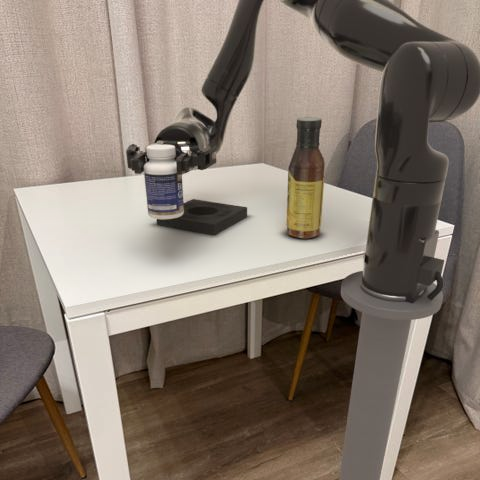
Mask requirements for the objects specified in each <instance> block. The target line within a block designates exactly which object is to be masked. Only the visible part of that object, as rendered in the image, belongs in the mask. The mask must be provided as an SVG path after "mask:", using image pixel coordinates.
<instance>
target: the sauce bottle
mask: <svg viewBox="0 0 480 480" xmlns="http://www.w3.org/2000/svg"><path fill="white" fill-rule="evenodd" d="M322 121H323V119H322V118H321V117H317V116H302V117H301V116H300V117H298V118H296V123H295V124H296V126H295V127H296V130H297V131H296V143H295V149H294V151H293V154H292V156H291V160H290V162H289V165H288V169H287V194H286V195H287V196H286V197H287V198H286V221H285V222H286V232H287V234H288V236H291V237H293V238H297V239H302V240H303V239H305V240H308V239H312V238H316V237H318V236H319V235H320V233H321V232H320V230H321V226H322V218H323V217H322V216H323V202H324V187H325V165H326V162H325V158H324V156H323V153H322V152H321V149H320V148H319V146H320V134H321V128H322Z"/></svg>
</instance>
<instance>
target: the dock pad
mask: <svg viewBox="0 0 480 480" xmlns="http://www.w3.org/2000/svg"><path fill="white" fill-rule="evenodd" d="M245 218H248V206H243V205H242V206H241V205H235V204H228V203H222V202H215V201H209V200H201V199H195V198H192V199H189V200H187V201H185V202H184V213H183V215H182V216H180V217H177V218H173V219H156V225H157V226H163V227H169V228H173V229H174V228H175V229H178V230H184V231H190V232H195V233H200V234H201V233H202V234H208V235H213V236H216V235H217V234H219V233H220V232H223V231H224V230H226V229H228V228H229V227H231V226H234V225H235V224H237V223H239V222H241V221H242V220H244V219H245Z"/></svg>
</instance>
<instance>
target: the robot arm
mask: <svg viewBox="0 0 480 480" xmlns="http://www.w3.org/2000/svg"><path fill="white" fill-rule="evenodd" d="M277 1H278V2H279V3H280V4H282V5H283V6H284V7H286V8H288V9H290V10H292V11H294V12H296V13H298V14H299V15H301V16H303V17H304V18H306V19H308V21H310V22H311V24H312V28H313V29H314V31H315V33H316V34H317V35H318V36H319V37H320V38H321V40H322V41H323V42H324V43H326V45H328V47H330V48H331V49H332V50H333V51H334V52H335V53H337V54H338V55H340V56H341V57H342V58H344V59H346V60H348V61H350V62H353V63H355V64H357V65H360V66H362V67H366V68H368V69H371V70H375V71H377V72H381V78H380V82H379V89H378V98H377V112H376V124H375V125H376V126H375V138H374V152H375V159H376V168H375V169H376V170H375V177H374V184H373V185H374V186H373V192H372V200H371V207H370V215H369V221H368V229H367V237H366V244H365V249H364V250H363V255H362V257H363V258H362V259H363V260H362V261H363V266H362V270H361V271H362V279H361V283H360V287H361V289H362V290H363V291H364V292H365V293H367V294H368V295H370V296H373V297H375V298H378V299H382V300H387V301H397V302H409V303H414V302H415V301H416V300H417V299H418V298H420V297H421V296H422V295H423V294H424V293H425V292H426V291H427V289H428V286H430V285H431V284H432V283H434V282H436V285H437V286H436V288H435V289H434V290H433V291H432V292H431V293H430V294H429V295H428V296H427V298H428V299H430V300H432V299H433V298H434V297H436V296H437V295H438V294H439V293H440V292H441V291H443V288H444V280H443V277H442V273H443V270H444V269H443V268H444V263H445V259H442V258H439V257H435V256H436V255H435V254H436V250H437V245H438V242H439V241H438V240H439V237H440V231H439V230H438V229H436V228H437V224H438V219H439V214H440V210H441V209H440V208H441V203H442V199H443V195H444V189H445V186H446V180H447V177H448V170H449V165H450V159H449V157H448V156H447V155H446V154H445V153H443V152H441V151H438V150H436V149H434V148H432V146H431V145H430V143H429V139H428V138H429V124H430V123H442V122H445V121H451V120H454V119H456V118H459V117H461V116H463V115H464V114H466V113H467V112H468V111H470V110H471V109H472V108H473V107H474V106H475V104H476V103H477V101H478V100H479V98H480V59H479V58H478V56H477V55H476V53H475V52H474V51H473V50H472V49H471V47H469V46H468V45H467V44H465V43H463V42H461V41H459V40H456V39H454V38H451V37H449V36H447V35H444V34H443V33H440V32H438V31H436V30H434V29H432V28H429V27H428V26H426V25H424V24H423V23H421V22H419V21H418V20H416V19H415V18H414V17H412V16H411V15H410V14H408V13H407V12H406V11H405V10H403V9H402V8H400V7H399V6H397V5H396V4H395V3H394V2H393V1H391V0H277ZM264 2H265V0H238V1H237V5H236V7H235V10H234V13H233V16H232V19H231V22H230V24H229V28H228V30H227V33H226V35H225V38H224V40H223V43H222V45H221V46H220V49H219V51H218V53H217V56H216V57H215V59H214V60H213V64H212V65H211V67H210V68H209V71H208V73H207V75H206V77H205V78H204V81H203V83H202V85H201V87H200V94H201V96H202V97H203V98H204V99H205V100H206V101H207V102H208V103H209V104H210V105H211V106H212V108H214V110H215V115H216V116H215V119H213V118H212V117H210V116H208V115H207V114H205V113H204V112H202V111H201V110H200V109H198V108H196V107H194V106H191V105H186V106H183V107H181V109H180V110H178V112H177V113H176V114H175V116H174V118H173V121H172V123H171V124H170V125H167V126H166V127H164V128H163V129H162V130H160V131H159V133H157V136H156V137H155V139H154V142H153V143H151V144H147V145H145V147H144V149H141V148H140V146H139V145H138V144H135V143H131V144H129V145H128V146H127V148H126V150H125V155H126V162H127V163H126V165H127V168H128V169H130V170H131V171H132V172H134V174H135V175H141V174H143V173H144V165H145V164H146V163H147V162H149V158H148V157H147V146H151V145H173V146H175V152H176V157H175V158H174V160H175V161H176V166H177V174H178V175H182V176H183V175H184V174H188V173H189V172H191V171H193V170H194V169H195V168H196V167H197V170H200V171H204V170H207V169H208V168H209V167H212V166H214V165H215V164H216V163H217V155H218V154H219V152H220V151H221V150H222V147H223V145H224V141H225V139H226V132H227V129H228V124H229V121H230V118H231V114H232V112H233V109H234V107H235V105H236V102H237V101H238V99H239V98H240V95H241V94H242V92H243V91H244V88H245V86H246V84H247V83H248V81H249V79H250V76H251V74H252V71H253V68H254V64H255V59H256V48H257V36H258V35H257V34H258V27H259V26H258V25H259V19H260V15H261V11H262V8H263V6H264Z"/></svg>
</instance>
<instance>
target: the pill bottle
mask: <svg viewBox="0 0 480 480" xmlns="http://www.w3.org/2000/svg"><path fill="white" fill-rule="evenodd" d="M150 145H151V144H150ZM146 146H147V145H146ZM147 157H148V158H149V162H147V163H146V164H145V165H144V171H143V177H144V179H143V180H144V188H145V196H146V209H147V215H148V217H150V218H152V219H155V220H157V219H173V218H177V217H180V216H182V215H183V213H184V203H185V202H184V185H183V175H178V174H177V166H176V161H175V160H174V158H175V157H176V152H175V146H173V145H151V146H147Z"/></svg>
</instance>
